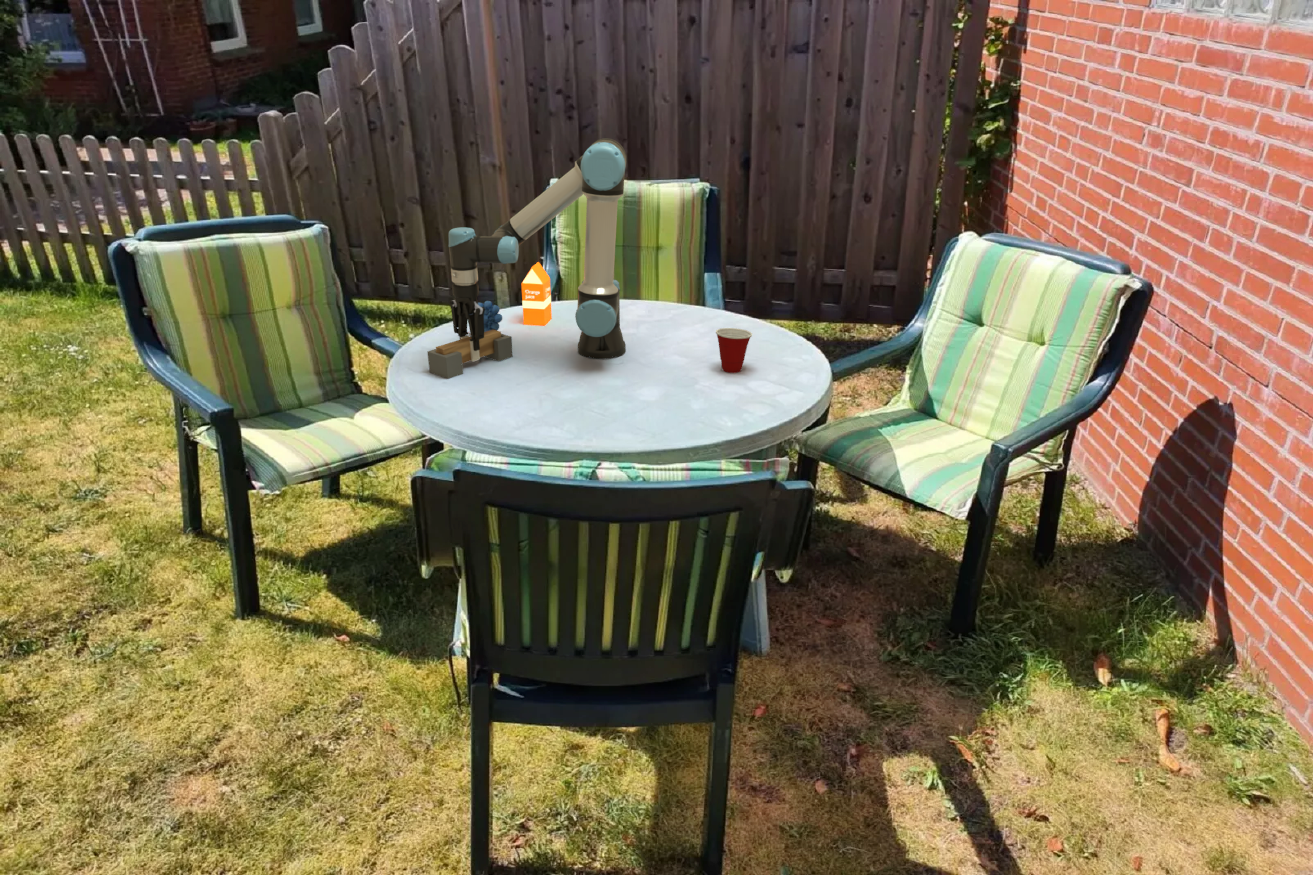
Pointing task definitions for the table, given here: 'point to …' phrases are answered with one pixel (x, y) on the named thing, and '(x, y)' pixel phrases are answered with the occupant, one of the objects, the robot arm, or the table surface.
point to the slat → (464, 346)
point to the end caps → (453, 361)
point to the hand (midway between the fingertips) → (470, 358)
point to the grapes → (491, 316)
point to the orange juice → (536, 297)
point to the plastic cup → (732, 348)
